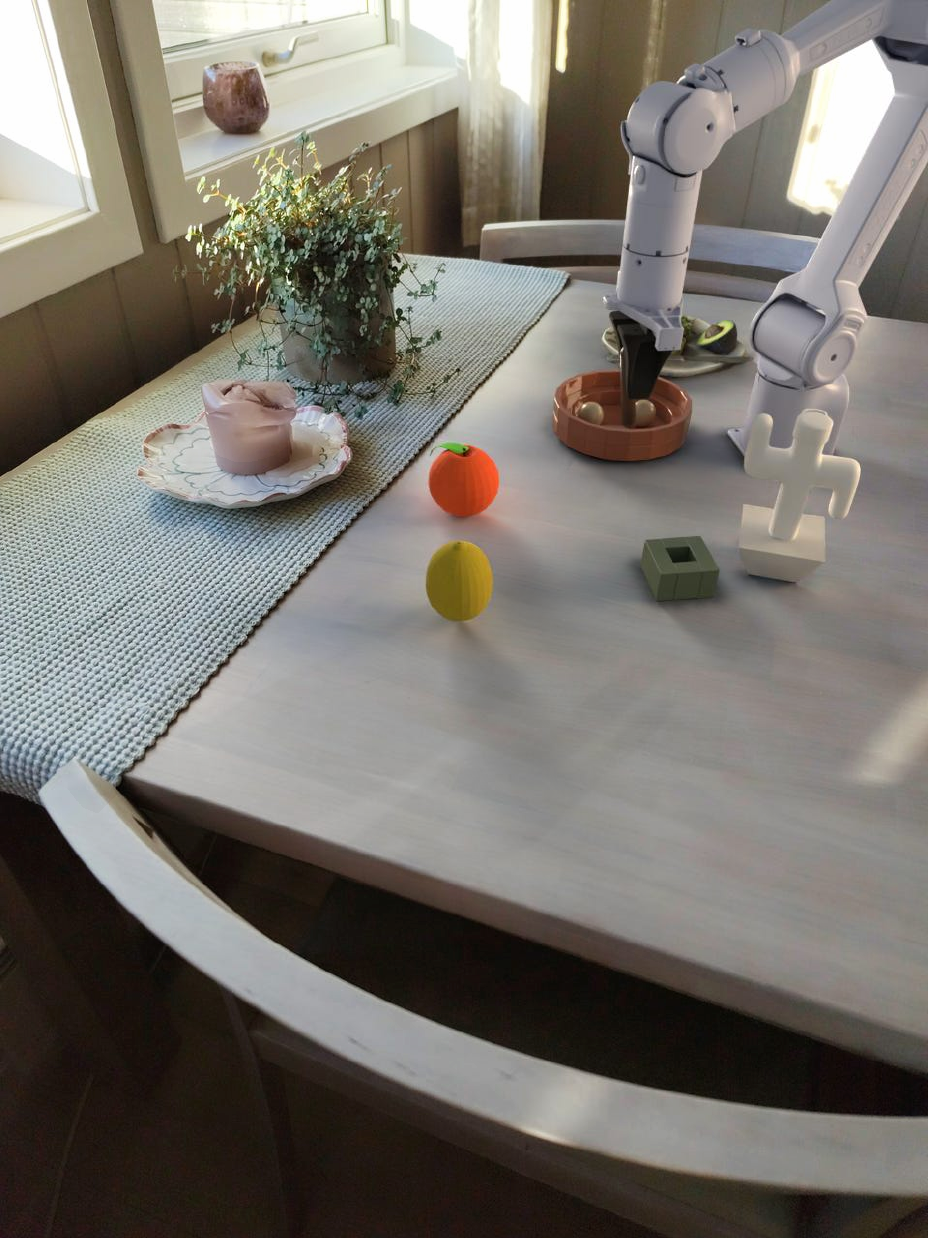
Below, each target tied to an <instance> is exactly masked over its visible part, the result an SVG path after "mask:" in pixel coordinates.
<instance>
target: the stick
mask: <svg viewBox="0 0 928 1238" xmlns="http://www.w3.org/2000/svg"><path fill="white" fill-rule="evenodd" d="M619 370H620V371H621V407H622V424H623V426H624V427H625V428H632V427H634V426H635V424H636V399H628V397H627V393H626V363H625V353H624V348H622V349H621V351H620V365H619Z"/></svg>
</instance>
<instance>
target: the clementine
mask: <svg viewBox="0 0 928 1238" xmlns="http://www.w3.org/2000/svg"><path fill="white" fill-rule="evenodd" d="M437 448H444V450H443V451H442V452H440V453H439V455H437V456H436V458H435V459H434V461H433V462H432V464H431V466H430V469H429V474H428V481H427V483H428V488H429V492H430V496H431V497H432V499H433V501H434V502H435V504H436V505H437V506H438V507H439V508H440V509H442V511H444V512H445V513H447V514H450V515H453V516H456V517H460V518H465V517H472V516H475V515H478V514H481V513H482V512H484V511H485V510H486V509H488V508H489V507H490V506H491V505H492V503H493V502H494V500H495V498H496V496H497V494H498V492H499V487H500V475H499V470H498V468H497V465H496V463H495V461H494V459H493V458H492V457H491V456H490V455H489V454H488V453H487V452H486V451H485V450H483V449H481V448H479V447H477V446H474V445H470V444H462V443H458V442H444V443H441V444H438V445H436V446H435V447H433V448H432V449H431V451H430V454H429V457H431V456H432V454H433V452H434V451H435V449H437Z"/></svg>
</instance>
